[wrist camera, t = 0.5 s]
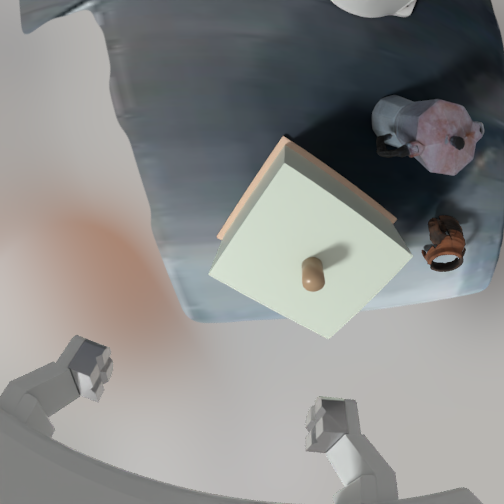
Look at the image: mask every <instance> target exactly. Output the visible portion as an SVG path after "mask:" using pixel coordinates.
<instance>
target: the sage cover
mask: <svg viewBox="0 0 504 504" xmlns="http://www.w3.org/2000/svg"><path fill="white" fill-rule="evenodd" d="M412 257H413V255H412V254H411V252H410V250H409V249H408V247H407V246H406V244H405V242H404V241H403V239H402V238H401V236H400V235H399V233H398V232H397V230H396V228H395V227H394V225H393V224H392V222H391V221H390V220H389V219H388V218H387V217H385V216H384V215H383V214H382V213H380V212H379V211H378V210H376V209H375V208H374V207H373V206H371V205H370V204H369V203H367V202H366V201H365V200H363V199H362V198H361V197H359V196H358V195H357V194H355V193H354V192H353V191H351V190H350V189H349V188H347V187H346V186H345V185H343V184H342V183H340V182H339V181H338V180H336V179H335V178H334V177H332V176H331V175H329V174H328V173H326V172H325V171H324V170H322V169H321V168H319V167H318V166H316V165H315V164H313V163H312V162H311V161H309V160H308V159H306V158H305V157H303V156H302V155H300V154H299V153H297V152H296V151H294V150H293V149H291V148H289V147H288V146H286V145H284V147H283V148H282V150H281V151H280V152H279V154H278V155H277V157H276V158H275V160H274V161H273V163H272V164H271V166H270V167H269V169H268V170H267V171H266V173H265V174H264V176H263V177H262V179H261V180H260V182H259V183H258V185H257V186H256V188H255V189H254V191H253V192H252V194H251V195H250V197H249V198H248V200H247V201H246V203H245V204H244V206H243V207H242V209H241V210H240V212H239V213H238V215H237V216H236V218H235V219H234V221H233V222H232V224H231V225H230V227H229V229H228V230H227V232H226V233H225V235H224V236H223V239H222V241H221V244H220V246H219V249H218V251H217V254H216V256H215V259H214V261H213V264H212V267H211V269H210V272H209V274H208V275H210V276H212V277H213V278H215V279H217V280H219V281H221V282H222V283H224V284H226V285H228V286H229V287H231V288H233V289H235V290H237V291H239V292H240V293H242V294H244V295H246V296H248V297H249V298H251V299H253V300H255V301H257V302H259V303H260V304H262V305H264V306H266V307H268V308H270V309H272V310H273V311H275V312H277V313H279V314H281V315H283V316H285V317H287V318H288V319H291V320H292V321H294V322H296V323H298V324H300V325H302V326H304V327H306V328H308V329H309V330H311V331H314V332H315V333H318V334H319V335H321V336H323V337H325V338H327V339H330V338H331V337H332V336H333V335H334V334H335V333H336V332H337V331H338V330H339V329H341V328H342V327H343V326H344V325H345V324H346V323H347V322H348V321H349V320H350V319H352V318H353V316H355V315H356V314H357V313H358V312H359V311H360V310H361V309H362V308H363V307H364V306H365V305H366V304H367V303H368V302H369V301H370V300H371V299H372V298H373V297H374V296H375V295H376V294H377V293H378V292H379V291H380V290H381V289H382V288H383V287H384V286H385V285H386V284H387V283H388V282H389V281H390V280H391V279H392V278H393V277H394V276H395V275H396V274H397V273H398V272H399V271H400V270H401V269H402V268H403V267H404V266H405V264H406V263H407V262H408V261H409V260H410V259H411V258H412Z"/></svg>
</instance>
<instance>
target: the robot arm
mask: <svg viewBox="0 0 504 504" xmlns="http://www.w3.org/2000/svg"><path fill="white" fill-rule="evenodd" d="M331 1H332V2H333V3H334V4H335V5H337V6H338V7H340V8H341V9H343V10H345V11H347V12H349V13H352V14H354V15H358V16H362V17H370V18H375V17H382V16H387V15H394V16H399V17H408V16H409V15H410V14H411V13H412V11H413V8H414V6H415V3H416V0H331ZM407 5H408V7H406V6H407ZM110 354H111V351H110V348H109V347H106V346H104V345H101V344H98V343H96V342H93V341H90V340H88V339H86V338H83V337H81V336H78V335H76V336H74V337H73V338H72V339H71V341H70V342H69V344H68V345H67V347H66V348H65V350H64V352H63V353H62V354H61V356H60V357H59V359H58V360H57V362H56V363H55V362H51V363H49V364H47V365H45V366H43V367H41V368H38V369H36V370H34V371H32V372H30V373H28V374H26V375H23V376H21V377H19V378H17V379H15V380H13V381H11V382H9V384H8V385H7V387H6V389H5V390H4V392H3V393H2V395H1V396H0V504H289V503H276V502H275V503H274V502H264V501H255V500H247V499H240V498H234V497H227V496H222V495H216V494H211V493H206V492H201V491H196V490H192V489H188V488H183V487H179V486H175V485H172V484H168V483H164V482H161V481H157V480H154V479H151V478H147V477H144V476H141V475H138V474H135V473H132V472H129V471H126V470H124V469H121V468H118V467H115V466H113V465H110V464H108V463H105V462H102V461H100V460H97V459H95V458H93V457H90V456H88V455H86V454H84V453H81V452H79V451H77V450H75V449H73V448H71V447H68V446H66V445H64V444H62V443H60V442H58V441H56V440H54V439H52V438H51V437H52V435H53V432H54V431H55V428H54V426H53V424H52V423H51V421H50V420H49V418H48V417H49V416H51V415H53V414H54V413H56V412H57V411H59V410H60V409H62V408H63V407H65V406H66V405H68V404H69V403H71V402H72V401H74V400H75V399H77V398H78V397H80V396H83V397H86V398H88V399H91V400H93V401H96V402H98V401H99V399H100V397H101V395H102V393H103V391H104V387H103V384H104V383H106V382H108V381H109V379H110V377H111V374H112V370H113V361H112V359H111V358H110V357H109V356H110ZM306 429H307V430H308V431H309V434H308V435H307V436H306V451H309V452H320V453H326V456H327V458H328V459H329V461H330V463H331V465H332V466H333V468H334V470H335V471H336V473H337V475H338V476H339V478H340V480H341V481H342V483H343V485H344V486H345V487H344V488H343V489H342V490H340V491H338V492H337V493H336V494H334V495H333V504H482V502H481V501H480V500H479V499H478V498H477V497H476V496H475V495H474V494H473V493H472V492H471V491H470V490H469V489H467V488H464V487H463V488H457V489H453V490H449V491H444V492H440V493H435V494H430V495H425V496H420V497H413V498H407V499H400V500H398V491H397V483H396V475H395V472H394V471H393V469H392V468H391V467H390V466H389V465H388V463H387V462H386V461H385V460H384V459H383V457H382V456H381V455H380V454H379V452H378V451H377V450H376V449H375V447H374V446H373V445H372V444H371V443H370V441H369V440H368V439H367V438H366V436H365V435H362V434H361V431H360V424H359V416H358V409H357V403H356V401H355V400H351V399H342V398H332V397H322V396H319V397H317V399H316V400H315V405H314V406H312V407H311V408H310V409H309V411H308V414H307V417H306Z"/></svg>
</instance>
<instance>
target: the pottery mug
mask: <svg viewBox="0 0 504 504" xmlns="http://www.w3.org/2000/svg"><path fill="white" fill-rule="evenodd" d="M439 219H440V221H439V220H437V218H432V219H430V220H429V222H428V227H429V232H430V240H431V241H432V243H433V244H434V245H437V247H436V248H435V247H434V246H432V247H431V248H430V249H429V250H428V252H427V254H426V252H425V251H424V250H422V254H423V257H424V258H425V259H426V261H427V262H428V264H430V268H431V269H432V270H435V271H439V272H443V271H444V272H446V271H452V270H454V269H457V268H458V267H459V266H461V265H462V263H463V256H464V254H465V251H466V249H465V248H464V246H465V239H464V238H463V232H462V228H461V226H460V225H459V223H458V221H457V220H456V219H455V218H453V217H451V216H447V215H445V216H444V215H443V216H439ZM446 231H447V232H448V234H449V235H446V233H445V232H446ZM463 248H464V250H463ZM441 255H455V256H457V258H456V259H455V260H454V261H452V262H447V263H437V262H433V260H434V259H435V258H436V257H438V256H441ZM458 258H459V259H458Z"/></svg>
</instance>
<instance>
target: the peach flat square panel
mask: <svg viewBox="0 0 504 504" xmlns="http://www.w3.org/2000/svg"><path fill="white" fill-rule="evenodd" d="M284 145H286V146H288V147H289V148H291V149H293V150H294V151H296V152H297V153H299V154H300V155H302V156H303V157H305V158H306V159H308V160H309V161H311V162H312V163H313V164H315V165H316V166H318V167H319V168H321V169H322V170H324V171H325V172H326V173H328V174H329V175H331V176H332V177H334V178H335V179H336V180H338V181H339V182H340V183H342V184H343V185H345V186H346V187H347V188H349V189H350V190H351V191H353V192H354V193H355V194H357V195H358V196H359V197H361V198H362V199H363V200H365V201H366V202H367V203H369V204H370V205H371V206H373V207H374V208H375V209H376V210H378V211H379V212H380V213H382V214H383V215H384V216H385V217H387V218H388V219H389V220H390V221H391V222H392V224H394V223H395V221H396V220H397V218H396V217H395V216H393V215H392V214H391V213H390V212H388V211H387V210H386V209H385V208H383V207H382V206H381V205H380V204H378V203H377V202H376V201H375V200H373V199H372V198H371V197H369V196H368V195H367V194H366V193H364V192H363V191H362V190H360V189H359V188H358V187H356V186H355V185H354V184H352V183H351V182H350V181H348V180H347V179H346V178H344V177H343V176H341V175H340V174H339V173H337V172H336V171H335V170H333V169H332V168H330V167H329V166H328V165H326V164H325V163H323V162H322V161H320V160H319V159H317V158H316V157H315V156H313V155H312V154H310V153H309V152H307V151H306V150H304V149H303V148H301V147H300V146H298V145H297V144H295V143H294V142H292V141H291V140H289V139H288V138H286V137H284V136H283V137H282V138H281V139H280V141H279V142H278V144H277V145H276V147H275V148H274V150H273V151H272V153H271V154H270V156H269V157H268V159H267V160H266V162H265V163H264V165H263V166H262V168H261V169H260V171H259V172H258V174H257V175H256V177H255V178H254V180H253V181H252V183H251V184H250V186H249V187H248V189H247V190H246V192H245V193H244V195H243V196H242V198H241V199H240V201H239V202H238V204H237V205H236V207H235V209H234V210H233V212H232V213H231V215H230V216H229V218H228V219H227V221H226V223H225V224H224V226H223V227H222V229H221V230H220V232H219V233H218V235H217V238H218V239H220V240H222V239H223V236H224V235H225V233H226V232H227V230H228V229H229V227H230V225H231V224H232V222H233V221H234V219H235V218H236V216H237V215H238V213H239V212H240V210H241V209H242V207H243V206H244V204H245V203H246V201H247V200H248V198H249V197H250V195H251V194H252V192H253V191H254V189H255V188H256V186H257V185H258V183H259V182H260V180H261V179H262V177H263V176H264V174H265V173H266V171H267V170H268V169H269V167H270V166H271V164H272V163H273V161H274V160H275V158H276V157H277V155H278V154H279V152H280V151H281V150H282V148H283V147H284Z"/></svg>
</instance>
